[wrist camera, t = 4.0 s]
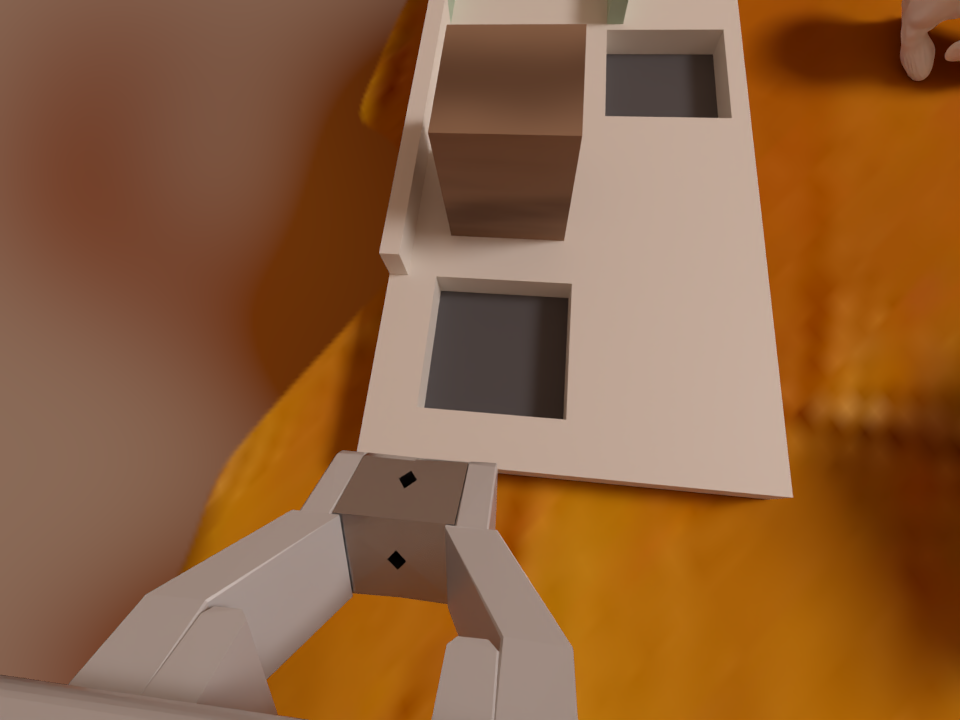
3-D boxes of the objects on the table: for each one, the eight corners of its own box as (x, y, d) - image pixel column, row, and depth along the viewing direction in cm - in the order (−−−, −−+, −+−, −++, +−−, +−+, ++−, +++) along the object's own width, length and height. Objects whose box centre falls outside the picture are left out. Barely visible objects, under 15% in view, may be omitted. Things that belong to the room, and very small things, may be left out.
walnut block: (564, 240, 24) (582, 135, 17) (451, 235, 25) (427, 132, 18) (568, 149, 26) (586, 24, 19) (463, 147, 27) (446, 24, 20)
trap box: (767, 499, 21) (840, 493, 16) (369, 460, 23) (331, 445, 18) (718, -28, 33) (752, -121, 28) (454, -24, 34) (444, -110, 30)
